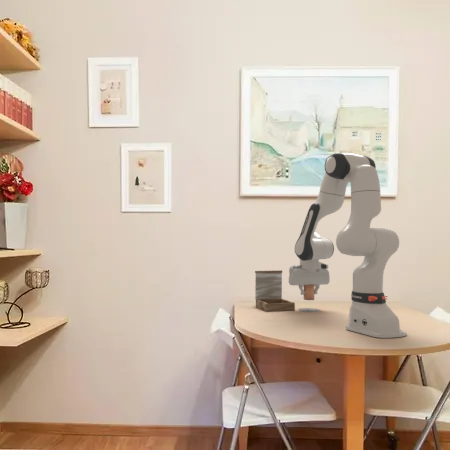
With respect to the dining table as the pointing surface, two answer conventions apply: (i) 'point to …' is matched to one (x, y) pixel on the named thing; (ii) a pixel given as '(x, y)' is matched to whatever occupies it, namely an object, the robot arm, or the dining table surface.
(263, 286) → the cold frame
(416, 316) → the dining table surface
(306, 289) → the orange cylinder
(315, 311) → the grey flat disc
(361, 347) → the dining table surface
